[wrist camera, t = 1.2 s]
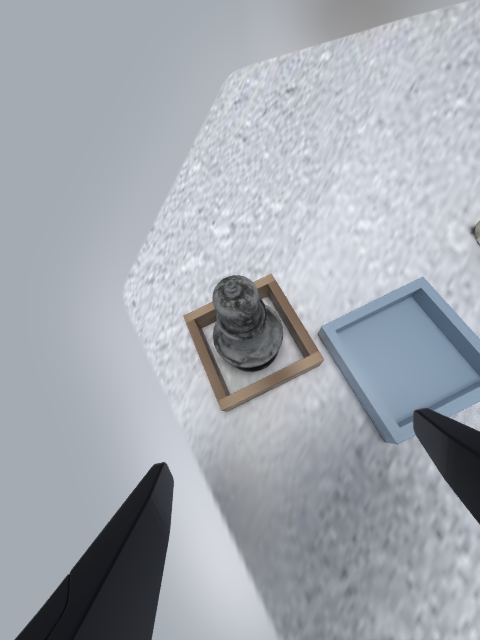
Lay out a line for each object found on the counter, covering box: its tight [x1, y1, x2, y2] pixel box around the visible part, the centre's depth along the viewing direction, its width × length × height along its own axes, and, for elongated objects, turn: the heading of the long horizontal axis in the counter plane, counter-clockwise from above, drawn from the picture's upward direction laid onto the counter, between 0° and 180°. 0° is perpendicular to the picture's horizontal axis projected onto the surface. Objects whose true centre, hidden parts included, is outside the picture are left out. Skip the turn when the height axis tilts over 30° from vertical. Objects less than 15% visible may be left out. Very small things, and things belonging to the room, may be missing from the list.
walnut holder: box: [184, 274, 324, 411], centre depth 23 cm, size 9×9×2 cm
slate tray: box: [318, 277, 480, 444], centre depth 21 cm, size 10×10×2 cm
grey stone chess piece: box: [213, 275, 283, 372], centre depth 19 cm, size 6×6×12 cm
